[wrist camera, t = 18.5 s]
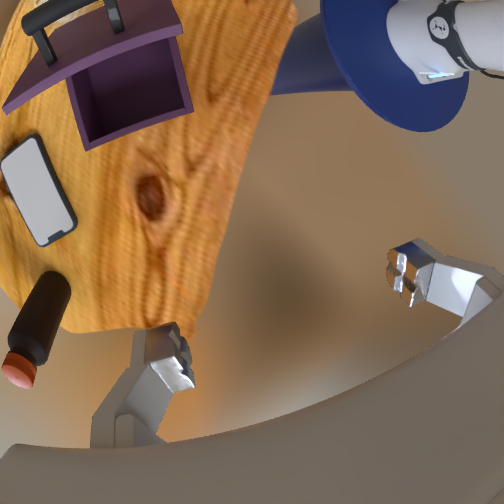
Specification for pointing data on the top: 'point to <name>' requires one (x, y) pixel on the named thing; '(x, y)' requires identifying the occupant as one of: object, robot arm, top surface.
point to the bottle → (36, 329)
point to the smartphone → (37, 191)
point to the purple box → (129, 92)
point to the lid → (87, 39)
